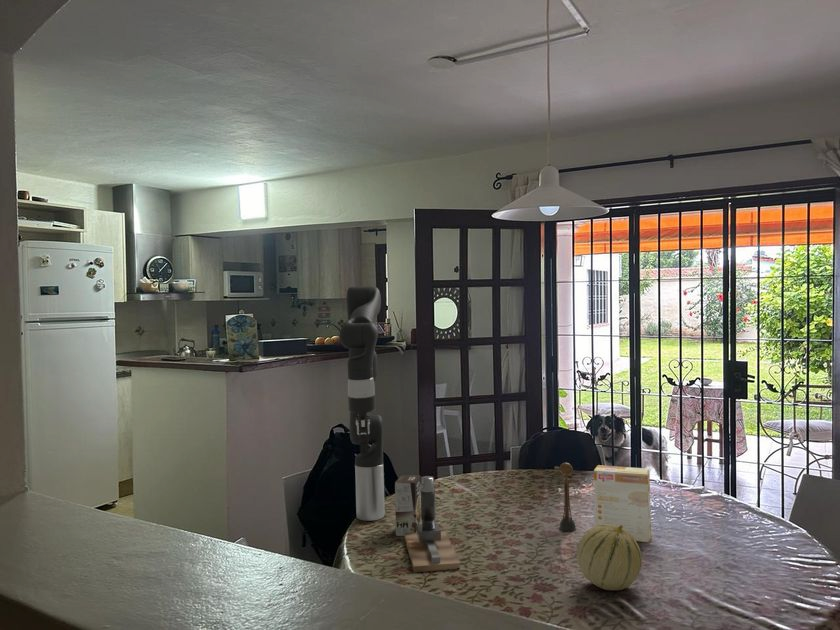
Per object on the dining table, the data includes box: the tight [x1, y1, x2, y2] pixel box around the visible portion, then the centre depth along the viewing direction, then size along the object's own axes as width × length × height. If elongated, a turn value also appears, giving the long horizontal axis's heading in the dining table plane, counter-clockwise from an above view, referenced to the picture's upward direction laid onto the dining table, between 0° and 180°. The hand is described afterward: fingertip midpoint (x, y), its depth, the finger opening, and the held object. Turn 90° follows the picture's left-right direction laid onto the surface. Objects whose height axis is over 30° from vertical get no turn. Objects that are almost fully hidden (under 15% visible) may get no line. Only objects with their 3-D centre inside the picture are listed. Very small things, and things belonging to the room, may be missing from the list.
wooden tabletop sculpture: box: [554, 462, 577, 532], centre depth 188 cm, size 6×5×20 cm
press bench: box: [404, 530, 461, 573], centre depth 172 cm, size 24×12×3 cm, turn 7°
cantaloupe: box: [576, 524, 643, 591], centre depth 148 cm, size 15×15×15 cm
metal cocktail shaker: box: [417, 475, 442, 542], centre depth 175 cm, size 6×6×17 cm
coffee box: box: [394, 474, 422, 537], centre depth 190 cm, size 9×6×16 cm
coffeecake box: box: [593, 464, 652, 543], centre depth 181 cm, size 15×7×20 cm, turn 65°
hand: (363, 450), depth 176 cm, fingers open, 8 cm apart
